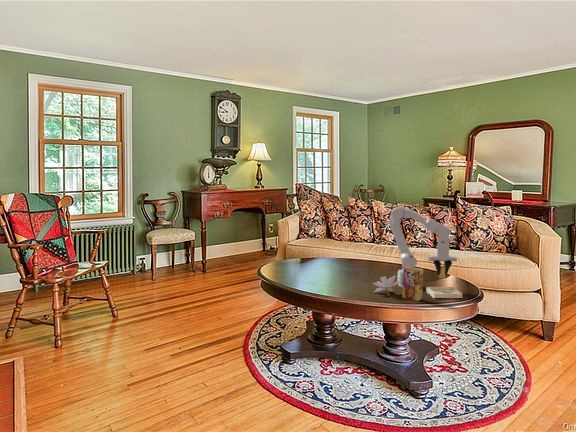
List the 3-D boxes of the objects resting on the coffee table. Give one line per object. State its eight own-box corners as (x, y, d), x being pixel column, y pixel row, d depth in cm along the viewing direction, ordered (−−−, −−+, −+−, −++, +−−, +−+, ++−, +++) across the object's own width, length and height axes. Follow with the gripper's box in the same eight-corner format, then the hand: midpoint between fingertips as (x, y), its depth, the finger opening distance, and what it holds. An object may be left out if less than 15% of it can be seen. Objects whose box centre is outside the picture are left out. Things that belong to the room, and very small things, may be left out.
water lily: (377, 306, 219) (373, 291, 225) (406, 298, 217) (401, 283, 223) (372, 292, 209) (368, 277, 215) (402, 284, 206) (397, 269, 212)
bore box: (434, 298, 210) (434, 293, 210) (426, 291, 222) (426, 286, 222) (462, 298, 211) (462, 293, 210) (452, 291, 222) (452, 287, 222)
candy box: (422, 299, 209) (424, 269, 207) (418, 301, 206) (419, 270, 204) (405, 295, 215) (407, 266, 213) (401, 297, 212) (403, 267, 210)
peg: (440, 278, 223) (440, 267, 222) (437, 276, 226) (438, 265, 226) (446, 278, 223) (446, 267, 222) (443, 276, 226) (444, 265, 226)
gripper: (432, 250, 219) (431, 276, 220) (460, 250, 219) (458, 276, 221) (427, 248, 226) (426, 273, 227) (454, 248, 226) (453, 273, 228)
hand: (441, 274), depth 224 cm, fingers closed on peg, 3 cm apart
